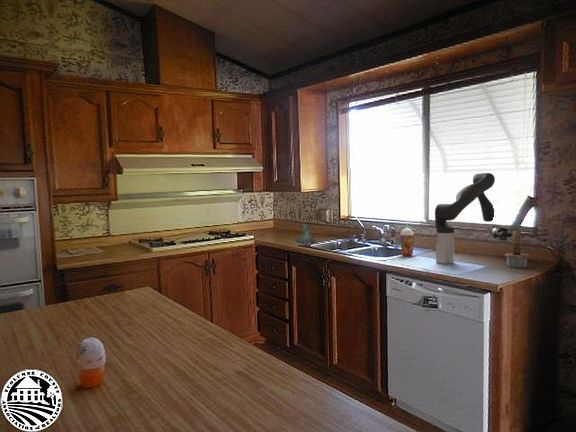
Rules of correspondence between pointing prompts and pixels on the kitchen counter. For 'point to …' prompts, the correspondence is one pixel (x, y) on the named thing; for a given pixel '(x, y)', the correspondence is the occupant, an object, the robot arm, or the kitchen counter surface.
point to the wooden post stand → (517, 247)
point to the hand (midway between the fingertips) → (510, 236)
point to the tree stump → (305, 235)
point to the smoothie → (407, 241)
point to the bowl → (516, 262)
